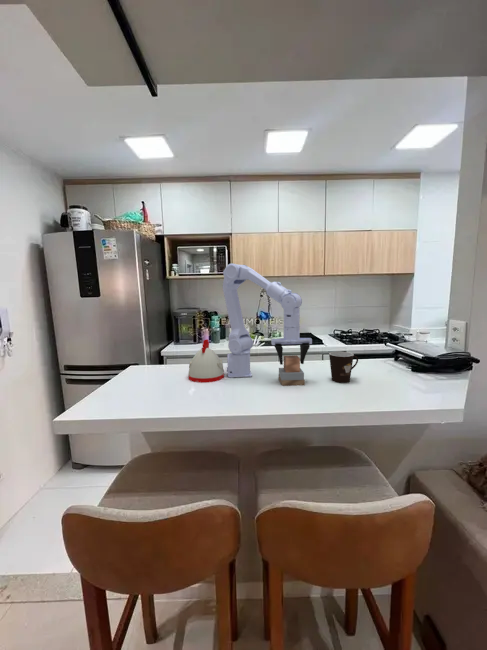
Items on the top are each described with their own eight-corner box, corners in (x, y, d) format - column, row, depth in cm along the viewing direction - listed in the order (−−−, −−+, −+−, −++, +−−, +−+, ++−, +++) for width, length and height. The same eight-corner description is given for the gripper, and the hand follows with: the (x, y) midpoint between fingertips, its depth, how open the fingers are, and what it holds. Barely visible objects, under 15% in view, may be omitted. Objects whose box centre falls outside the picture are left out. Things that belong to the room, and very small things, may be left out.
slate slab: (281, 380, 109) (281, 373, 109) (278, 374, 117) (278, 367, 116) (303, 379, 109) (303, 372, 109) (299, 373, 117) (299, 367, 117)
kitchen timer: (227, 373, 127) (226, 337, 125) (219, 383, 113) (218, 343, 112) (194, 372, 129) (193, 337, 127) (183, 382, 115) (182, 343, 114)
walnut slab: (282, 387, 109) (282, 380, 108) (278, 380, 117) (278, 374, 116) (304, 386, 109) (304, 379, 109) (299, 380, 117) (299, 373, 117)
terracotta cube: (286, 372, 110) (286, 358, 109) (283, 368, 115) (283, 355, 114) (299, 372, 110) (300, 358, 109) (296, 368, 115) (296, 355, 114)
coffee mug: (331, 384, 110) (332, 356, 109) (326, 377, 118) (326, 351, 117) (364, 383, 109) (365, 356, 108) (356, 376, 118) (357, 351, 117)
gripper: (273, 328, 106) (273, 367, 108) (314, 327, 107) (314, 365, 108) (270, 326, 113) (270, 362, 115) (309, 325, 114) (308, 361, 115)
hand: (291, 363), depth 112 cm, fingers open, 7 cm apart
